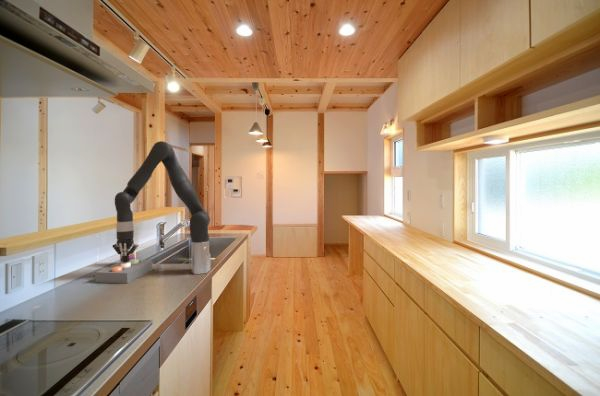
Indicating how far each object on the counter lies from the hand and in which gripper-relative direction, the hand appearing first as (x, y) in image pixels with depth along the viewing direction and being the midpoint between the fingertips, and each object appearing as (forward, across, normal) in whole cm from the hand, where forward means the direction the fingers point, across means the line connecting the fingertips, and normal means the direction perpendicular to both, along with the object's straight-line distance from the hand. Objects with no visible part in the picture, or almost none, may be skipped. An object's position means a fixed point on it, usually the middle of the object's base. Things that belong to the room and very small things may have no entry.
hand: (125, 262), depth 142 cm
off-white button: (+5, 0, 0) cm, 5 cm away
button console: (+7, 0, 0) cm, 7 cm away
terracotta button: (+5, 0, +7) cm, 8 cm away
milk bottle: (+7, +11, -18) cm, 22 cm away
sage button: (+5, 0, -6) cm, 8 cm away
